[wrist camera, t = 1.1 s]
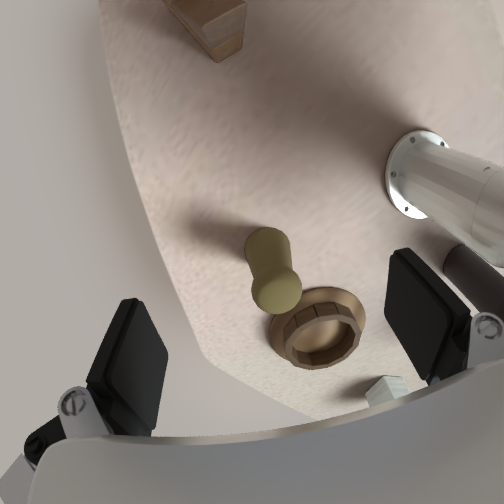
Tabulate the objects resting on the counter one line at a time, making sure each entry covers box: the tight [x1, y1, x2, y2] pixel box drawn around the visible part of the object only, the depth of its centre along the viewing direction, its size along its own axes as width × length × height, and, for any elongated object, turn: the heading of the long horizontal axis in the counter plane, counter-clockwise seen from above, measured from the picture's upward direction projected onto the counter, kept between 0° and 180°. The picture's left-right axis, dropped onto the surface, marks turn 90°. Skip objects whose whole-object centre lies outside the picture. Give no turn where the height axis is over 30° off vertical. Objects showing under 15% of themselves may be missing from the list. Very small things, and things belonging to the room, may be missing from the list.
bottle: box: [444, 245, 504, 323], centre depth 31 cm, size 7×7×20 cm
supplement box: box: [365, 376, 410, 407], centre depth 50 cm, size 7×7×13 cm
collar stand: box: [270, 287, 366, 370], centre depth 42 cm, size 16×16×4 cm
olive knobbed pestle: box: [244, 228, 302, 314], centre depth 32 cm, size 6×6×11 cm
